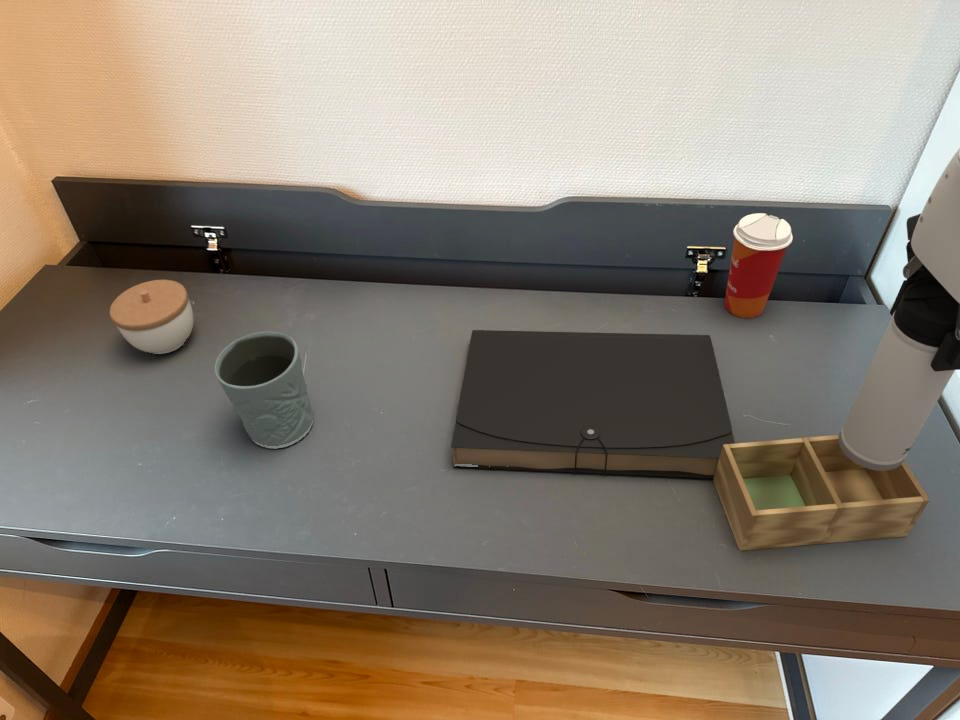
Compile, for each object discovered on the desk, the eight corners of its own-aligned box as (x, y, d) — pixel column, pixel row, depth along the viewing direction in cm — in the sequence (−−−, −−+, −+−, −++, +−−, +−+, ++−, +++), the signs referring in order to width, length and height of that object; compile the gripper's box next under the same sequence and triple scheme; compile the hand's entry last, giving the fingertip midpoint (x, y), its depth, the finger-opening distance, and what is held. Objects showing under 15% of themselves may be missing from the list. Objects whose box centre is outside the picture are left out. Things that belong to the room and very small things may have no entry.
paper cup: (731, 284, 109) (749, 205, 100) (779, 302, 105) (803, 222, 96) (707, 310, 105) (725, 230, 95) (757, 330, 101) (780, 249, 92)
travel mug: (918, 471, 70) (1010, 317, 56) (850, 472, 70) (925, 319, 57) (892, 424, 75) (972, 271, 61) (829, 425, 75) (894, 273, 61)
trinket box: (166, 312, 112) (144, 263, 105) (218, 328, 108) (198, 279, 102) (114, 354, 105) (87, 305, 99) (168, 373, 101) (143, 324, 95)
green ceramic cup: (276, 466, 88) (249, 400, 79) (226, 431, 92) (195, 365, 84) (335, 416, 93) (315, 349, 85) (284, 386, 98) (261, 320, 90)
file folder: (450, 446, 83) (473, 322, 101) (453, 469, 86) (474, 344, 104) (739, 458, 79) (709, 327, 97) (733, 481, 82) (704, 350, 100)
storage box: (866, 467, 83) (885, 430, 78) (906, 536, 76) (930, 500, 71) (712, 480, 82) (722, 444, 78) (739, 551, 76) (752, 515, 71)
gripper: (1169, 212, 44) (1030, 408, 56) (1001, 98, 56) (918, 279, 69) (1049, 222, 44) (937, 416, 56) (908, 106, 56) (842, 285, 69)
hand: (927, 339), depth 62 cm, fingers closed on travel mug, 6 cm apart
